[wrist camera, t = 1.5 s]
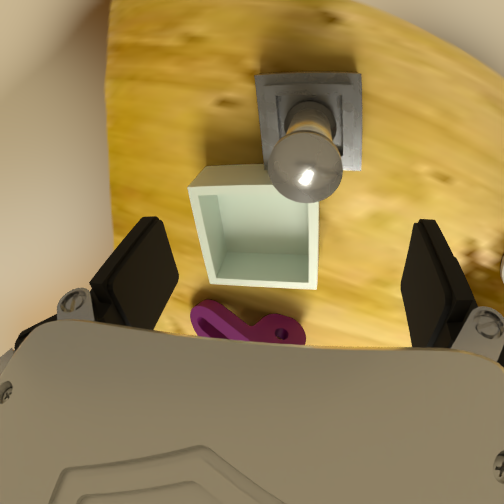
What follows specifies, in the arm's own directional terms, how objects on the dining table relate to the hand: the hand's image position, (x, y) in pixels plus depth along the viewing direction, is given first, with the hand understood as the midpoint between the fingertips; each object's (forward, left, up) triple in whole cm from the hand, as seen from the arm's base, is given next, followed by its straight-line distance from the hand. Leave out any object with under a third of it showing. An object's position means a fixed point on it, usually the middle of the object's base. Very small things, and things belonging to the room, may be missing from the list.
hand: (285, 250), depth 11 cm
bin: (+6, +12, -24) cm, 28 cm away
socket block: (0, 0, -24) cm, 24 cm away
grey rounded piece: (0, 0, -21) cm, 21 cm away
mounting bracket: (+11, +33, -25) cm, 43 cm away
